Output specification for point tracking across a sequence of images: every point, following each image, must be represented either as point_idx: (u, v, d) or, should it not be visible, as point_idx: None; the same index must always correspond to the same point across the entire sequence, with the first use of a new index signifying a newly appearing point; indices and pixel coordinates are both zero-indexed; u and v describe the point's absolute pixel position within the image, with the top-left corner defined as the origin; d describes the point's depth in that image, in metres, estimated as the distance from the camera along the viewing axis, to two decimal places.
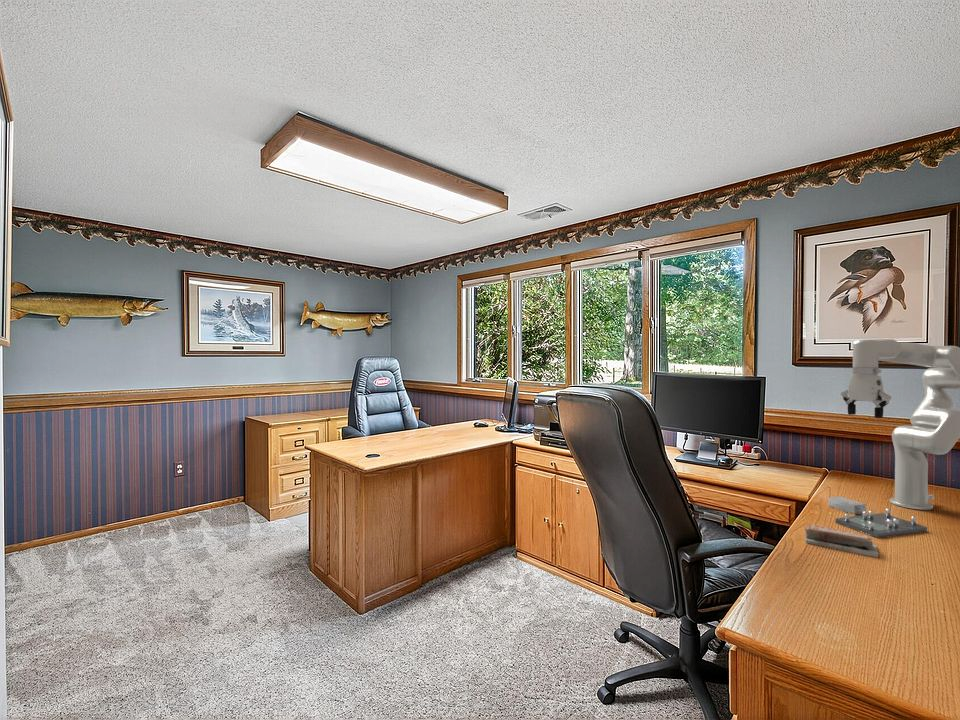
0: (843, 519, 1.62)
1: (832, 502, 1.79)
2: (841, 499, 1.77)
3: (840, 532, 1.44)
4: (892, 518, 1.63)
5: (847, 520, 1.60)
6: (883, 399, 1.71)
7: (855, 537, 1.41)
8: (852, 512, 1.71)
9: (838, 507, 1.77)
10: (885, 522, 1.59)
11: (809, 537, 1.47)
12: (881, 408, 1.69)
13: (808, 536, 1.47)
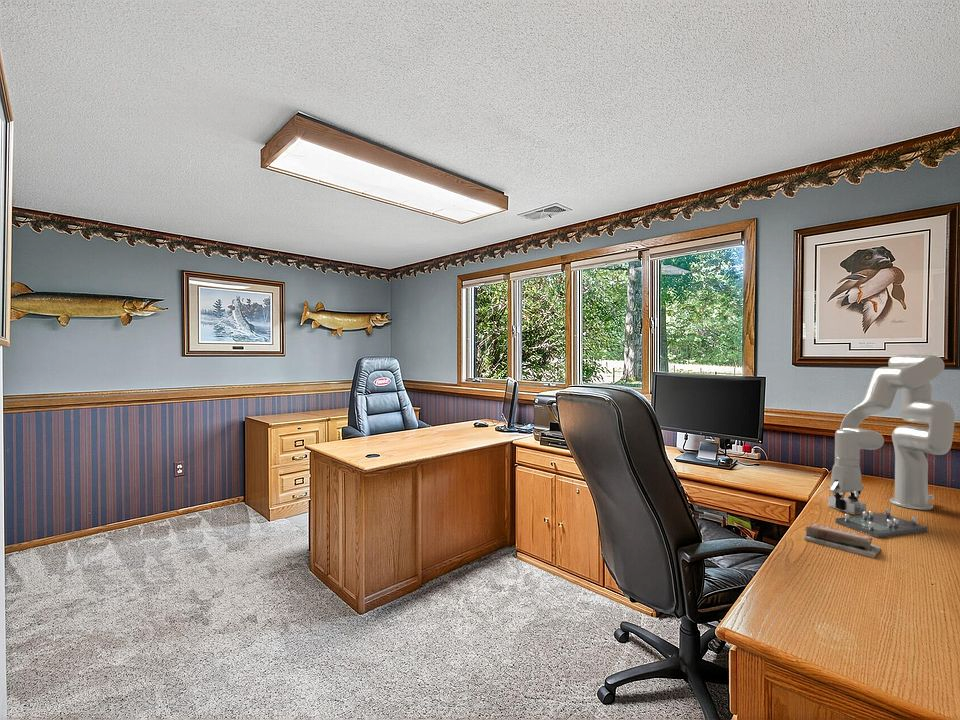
0: (843, 519, 1.62)
1: (832, 501, 1.79)
2: None
3: (840, 531, 1.45)
4: (892, 518, 1.63)
5: (847, 520, 1.60)
6: None
7: (854, 537, 1.41)
8: (852, 511, 1.71)
9: None
10: (885, 522, 1.59)
11: (808, 535, 1.49)
12: None
13: (807, 533, 1.50)
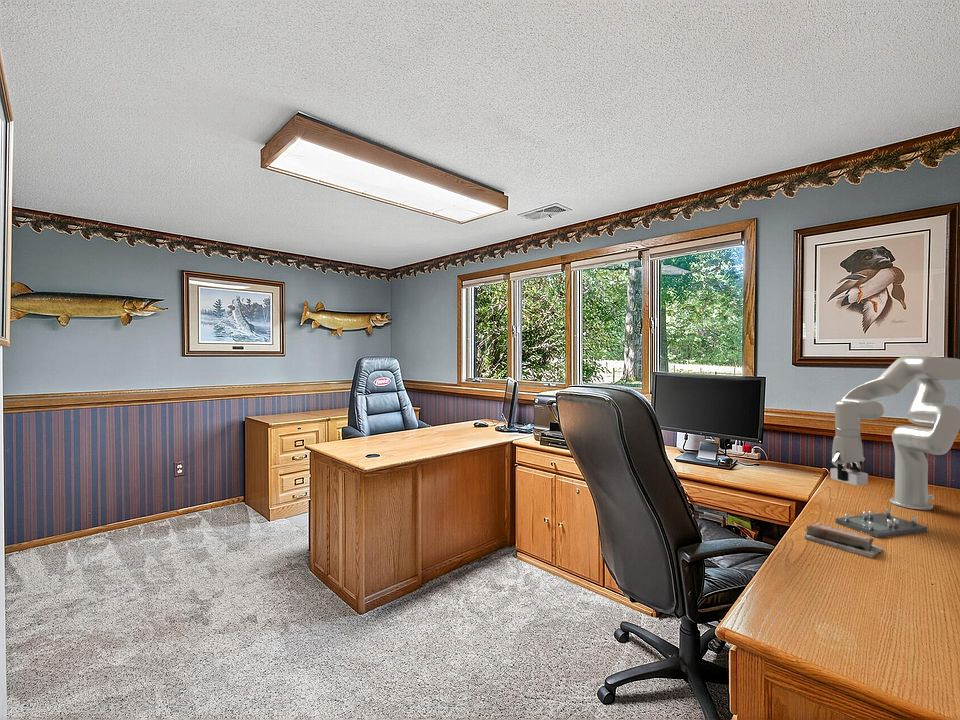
0: (843, 519, 1.62)
1: (834, 473, 1.79)
2: None
3: (841, 531, 1.45)
4: (892, 518, 1.63)
5: (847, 520, 1.60)
6: None
7: (853, 536, 1.41)
8: (854, 482, 1.71)
9: None
10: (885, 522, 1.59)
11: (809, 533, 1.50)
12: None
13: (808, 532, 1.50)
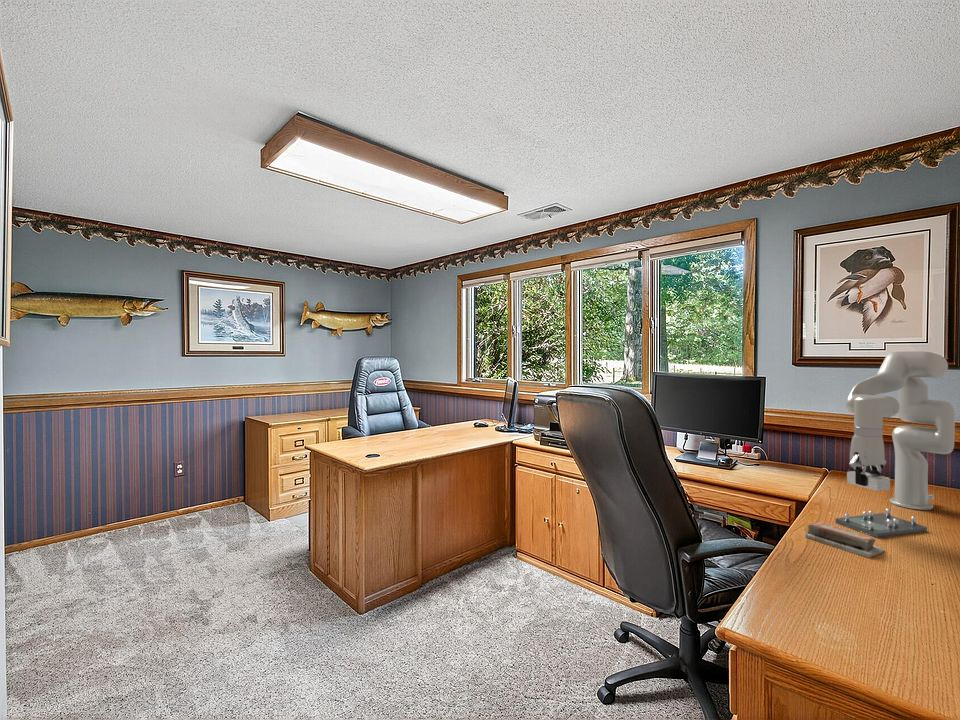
0: (843, 519, 1.62)
1: (851, 477, 1.61)
2: None
3: (841, 531, 1.45)
4: (892, 518, 1.63)
5: (847, 520, 1.60)
6: None
7: (852, 536, 1.41)
8: (874, 487, 1.53)
9: None
10: (885, 522, 1.59)
11: (810, 532, 1.51)
12: None
13: (809, 531, 1.51)
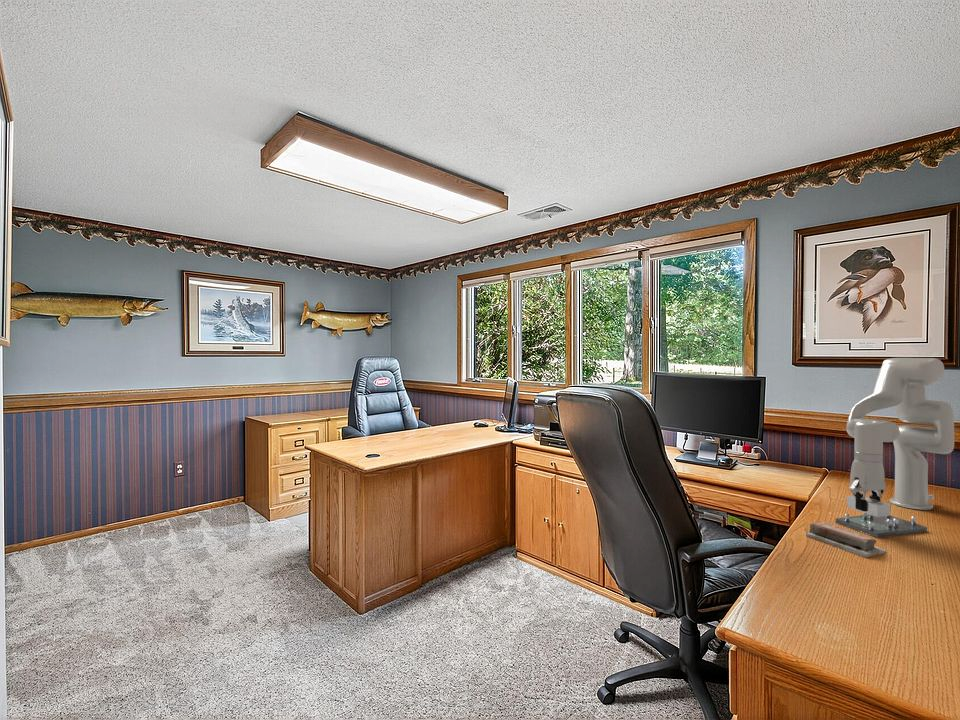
0: (843, 519, 1.62)
1: (851, 501, 1.61)
2: None
3: (842, 531, 1.45)
4: (892, 518, 1.63)
5: (847, 520, 1.60)
6: None
7: (851, 536, 1.41)
8: (874, 513, 1.53)
9: None
10: (885, 522, 1.59)
11: (811, 531, 1.52)
12: None
13: (810, 530, 1.52)
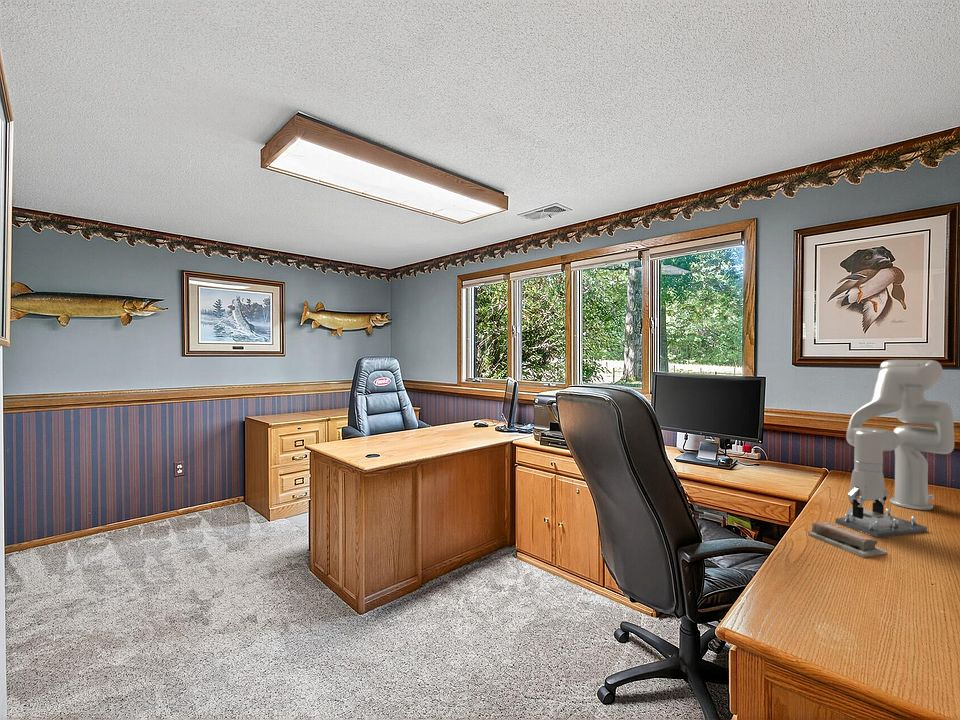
0: (843, 519, 1.62)
1: (851, 514, 1.61)
2: None
3: (843, 531, 1.46)
4: (892, 518, 1.63)
5: (847, 520, 1.60)
6: None
7: (851, 536, 1.42)
8: (875, 526, 1.53)
9: (858, 520, 1.58)
10: None
11: (813, 530, 1.53)
12: None
13: (812, 529, 1.53)
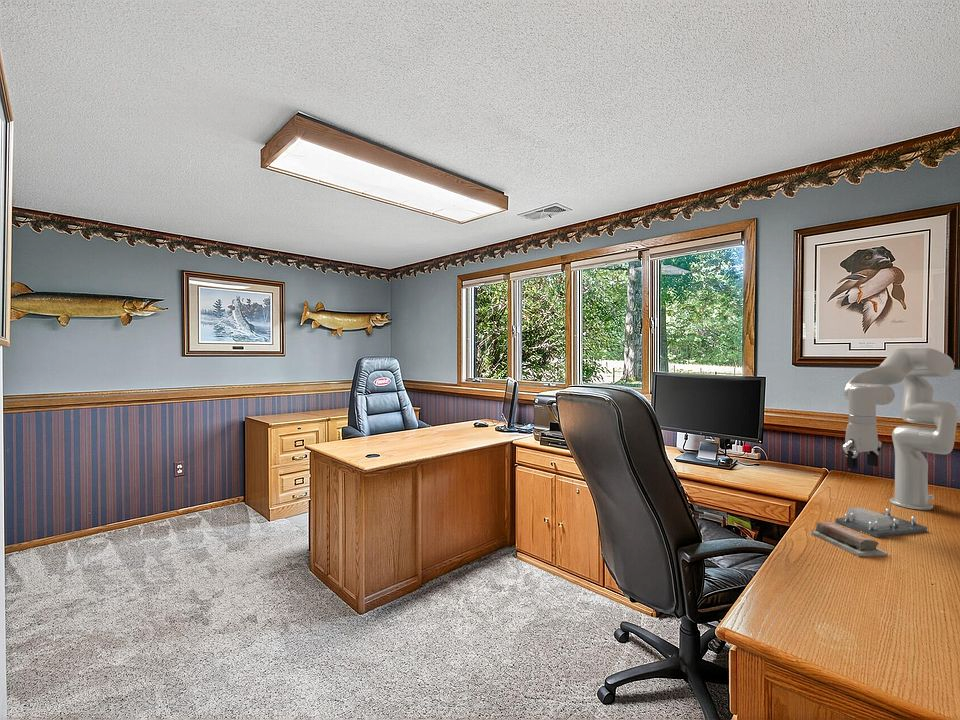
0: (843, 519, 1.62)
1: (851, 514, 1.61)
2: (861, 511, 1.59)
3: (845, 530, 1.46)
4: (892, 518, 1.63)
5: (847, 520, 1.60)
6: None
7: (850, 536, 1.42)
8: (875, 526, 1.53)
9: (858, 520, 1.58)
10: None
11: (817, 530, 1.53)
12: None
13: (816, 529, 1.54)
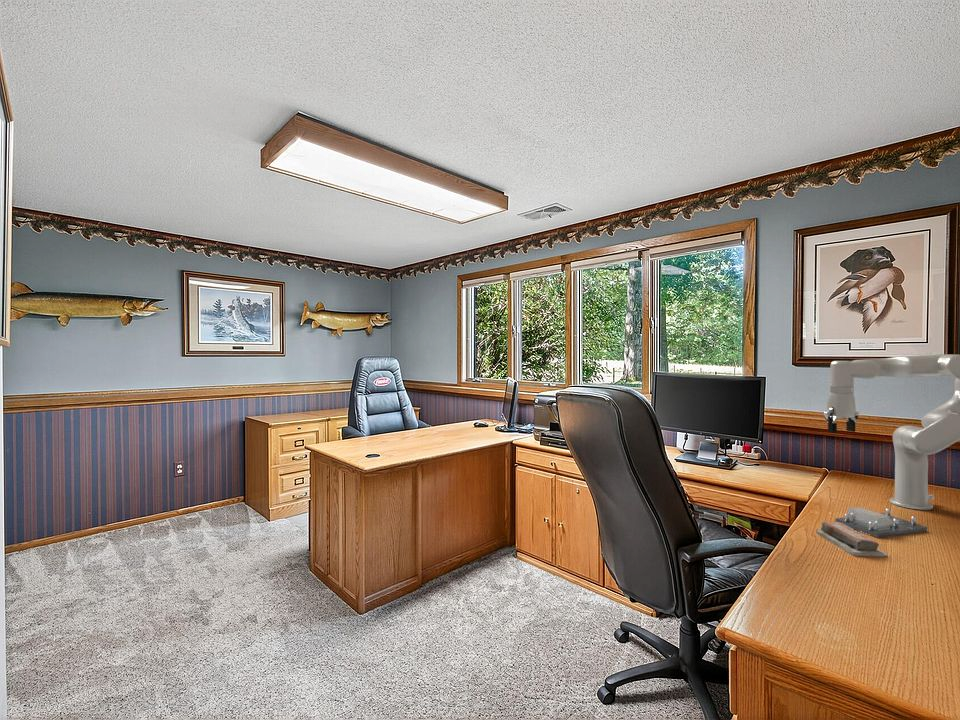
0: (843, 519, 1.62)
1: (851, 514, 1.61)
2: (861, 511, 1.59)
3: (847, 530, 1.46)
4: (892, 518, 1.63)
5: (847, 520, 1.60)
6: None
7: (849, 535, 1.42)
8: (875, 526, 1.53)
9: (858, 520, 1.58)
10: None
11: (822, 529, 1.54)
12: None
13: (821, 528, 1.54)
